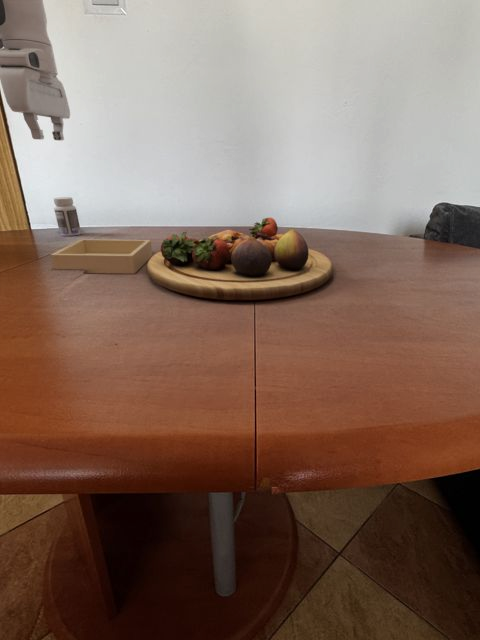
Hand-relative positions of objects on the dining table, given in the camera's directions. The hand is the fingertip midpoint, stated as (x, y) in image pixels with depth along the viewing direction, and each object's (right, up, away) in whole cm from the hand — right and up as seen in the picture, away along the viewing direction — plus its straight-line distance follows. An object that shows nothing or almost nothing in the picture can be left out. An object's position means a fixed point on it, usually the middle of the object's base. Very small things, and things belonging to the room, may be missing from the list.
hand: (49, 139), depth 84 cm
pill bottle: (0, -19, +9) cm, 21 cm away
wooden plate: (+44, -33, -17) cm, 57 cm away
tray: (+19, -31, -14) cm, 39 cm away
